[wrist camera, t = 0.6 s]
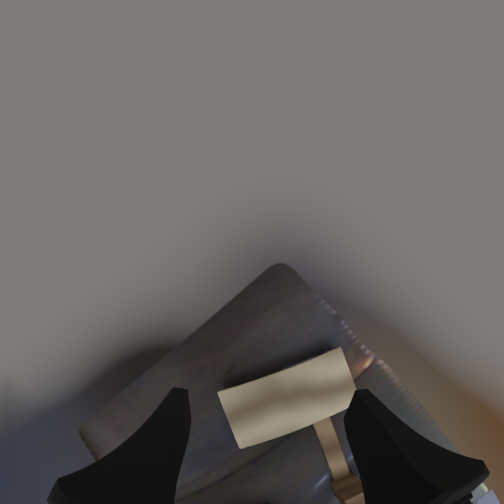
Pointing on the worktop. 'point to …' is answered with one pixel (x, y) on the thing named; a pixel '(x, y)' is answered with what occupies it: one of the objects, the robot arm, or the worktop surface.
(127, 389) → the worktop surface
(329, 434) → the wooden mallet
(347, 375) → the small wooden table
